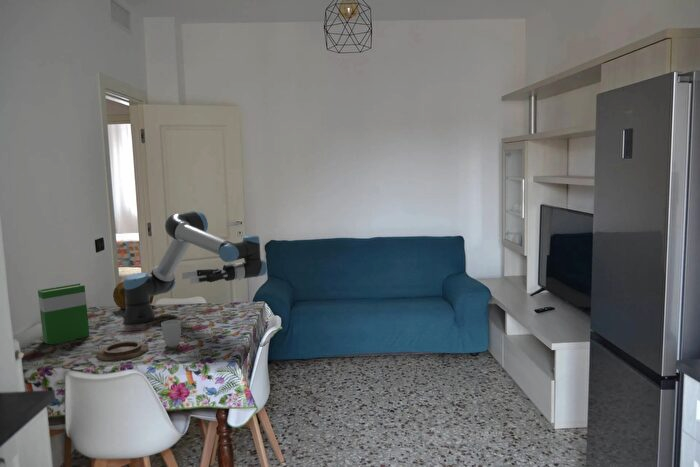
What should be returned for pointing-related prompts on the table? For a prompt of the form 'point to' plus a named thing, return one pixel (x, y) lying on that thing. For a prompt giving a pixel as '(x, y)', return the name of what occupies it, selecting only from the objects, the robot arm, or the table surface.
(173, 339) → the cup
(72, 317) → the hardback book
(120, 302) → the decorative pumpkin
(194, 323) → the table surface
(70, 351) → the table surface
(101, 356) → the round tray
